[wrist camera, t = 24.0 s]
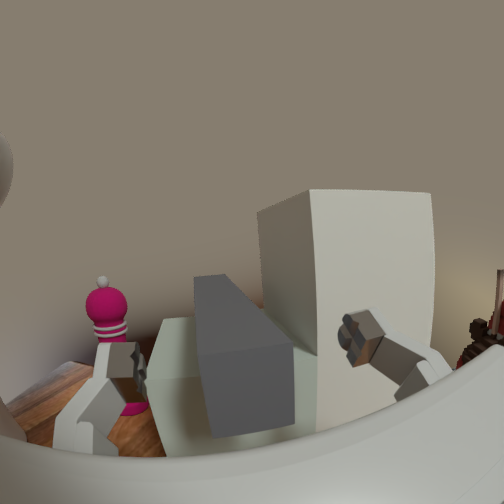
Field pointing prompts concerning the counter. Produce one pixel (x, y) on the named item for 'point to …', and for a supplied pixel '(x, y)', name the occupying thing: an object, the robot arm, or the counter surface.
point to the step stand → (312, 312)
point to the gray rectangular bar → (241, 361)
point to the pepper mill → (110, 324)
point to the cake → (486, 328)
